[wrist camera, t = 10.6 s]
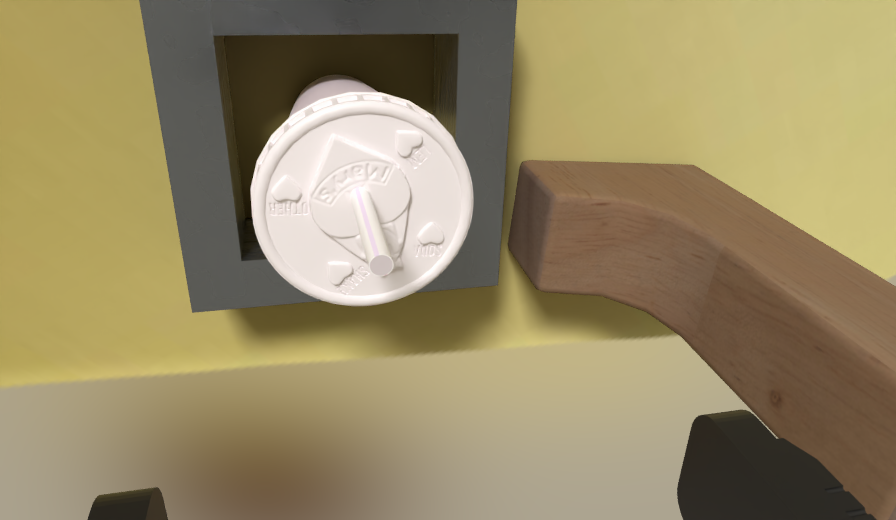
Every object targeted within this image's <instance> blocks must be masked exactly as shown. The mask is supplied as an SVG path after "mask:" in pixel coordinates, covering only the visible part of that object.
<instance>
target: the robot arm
mask: <svg viewBox="0 0 896 520" xmlns="http://www.w3.org/2000/svg"><path fill="white" fill-rule="evenodd" d="M677 496H678V504H679V508H680V511H681V515H682V517H683V520H877V519H876V518H875V517H874V516H873V515H872V514H867V513H866V511H865V507H864V506H863V505H862V504H861V503H860V502H859V501H858V500H857V499H856V498H855V497H854V496H853V495H852V494H851V493H850V492H849V491H847V492H845V490H844V488H843V485H842V484H841V483H840V482H839V481H838V480H837V479H836V478H835V477H834V476H833V475H832V474H831V473H830V472H829V471H828V470H827V469H826V468H825V466H824V465H823V464H822V463H821V462H820V461H819V460H818V459H816V458H815V457H813V456H811V455H810V454H808V453H807V452H805V451H803V450H802V449H800V448H799V447H797V446H795V445H794V444H792V443H791V442H789V441H787V440H786V439H784V438H780V439H776V438H775V437H774V436H773V435H772V433H771V432H770V431H769V430H768V429H767V428H766V427H765V426H764V425H763V424H762V423H761V422H760V421H759V419H757V417H756V416H754V415H753V414H752V413H751V412H749V411H746V410H736V411H729V412H721V413H715V414H707V415H700V416H698V417H696V419H695V420H694V422H693V424H692V427H691V431H690V436H689V440H688V444H687V448H686V453H685V457H684V461H683V466H682V469H681V474H680V478H679V482H678V488H677ZM88 520H168V518H167V513H166V509H165V505H164V500H163V497H162V493H161V491H160V489H159V488H157V487H156V488H149V489H141V490H134V491H127V492H119V493H112V494H104V495H99V496H97V498H96V499H95V501H94V502H93V505H92V508H91V511H90V514H89V517H88Z"/></svg>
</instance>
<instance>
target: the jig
mask: <svg viewBox="0 0 896 520" xmlns="http://www.w3.org/2000/svg"><path fill="white" fill-rule="evenodd" d="M139 1H140V7H141V13H142V19H143V25H144V30H145V36H146V42H147V48H148V54H149V60H150V66H151V72H152V78H153V84H154V90H155V95H156V101H157V107H158V113H159V119H160V125H161V131H162V137H163V143H164V149H165V154H166V160H167V166H168V172H169V178H170V184H171V190H172V196H173V202H174V208H175V213H176V219H177V225H178V231H179V237H180V243H181V249H182V255H183V261H184V267H185V273H186V278H187V284H188V290H189V296H190V302H191V308H192V313H193V312H204V311H215V310H226V309H238V308H249V307H260V306H271V305H282V304H293V303H305V302H316V301H322V300H320V299H317V298H314V297H312V296H310V295H308V294H306V293H304V292H302V291H300V290H299V289H297V288H296V287H294V286H293V285H291V284H290V283H289V282H288V281H286V280H285V279H284V278H283V277H282V276H281V275H280V274H279V273H278V272H277V271H276V270H275V269H274V267H273V266H272V265H271V263H270V262H269V261H268V259H267V258H266V256H265V254H264V253H263V251H262V249H261V246H260V244H259V242H258V239H257V236H256V233H255V229H254V225H253V218H247V219H246V218H245V210H244V202H243V193H242V185H241V176H240V168H239V160H238V151H237V143H236V134H235V126H234V118H233V109H232V101H231V92H230V84H229V76H228V67H227V59H226V51H225V42H224V35H347V34H435V36H434V98H433V116H434V117H435V118H436V119H437V120H438V121H439V122H440V123H441V124H442V126H443V127H444V128H445V129H446V130H447V131H448V132H449V133H450V134H451V135H452V137H453V139H454V141H455V143H456V145H457V147H458V149H459V150H460V152H461V154H462V156H463V158H464V159H465V162H466V164H467V167H468V169H469V173H470V177H471V181H472V187H473V212H472V219H471V223H470V227H469V230H468V233H467V235H466V238H465V240H464V242H463V244H462V246H461V248H460V250H459V251H458V253H457V255H456V256H455V258H454V259H453V260H452V262H451V263H450V264H449V265H448V266H447V268H446V269H445V270H444V271H443V272H442V273H441V274H440V275H439V276H438V277H436V278H435V279H434V280H433V281H431V282H430V283H429V284H427V285H426V286H424V287H423V288H421V289H420V290H418V291H416V292H428V291H439V290H450V289H461V288H472V287H483V286H495V285H498V275H499V260H500V245H501V231H502V216H503V201H504V186H505V172H506V157H507V142H508V127H509V113H510V98H511V83H512V68H513V54H514V39H515V24H516V9H517V0H139ZM416 292H414V293H416Z"/></svg>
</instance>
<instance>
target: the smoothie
mask: <svg viewBox="0 0 896 520" xmlns="http://www.w3.org/2000/svg"><path fill="white" fill-rule="evenodd" d="M250 190H251V206H252V217H253V225H254V229H255V233H256V236H257V239H258V242H259V244H260V246H261V249H262V251H263V253H264V254H265V256H266V258H267V259H268V261H269V262H270V263H271V265H272V266H273V267H274V269H275V270H276V271H277V272H278V273H279V274H280V275H281V276H282V277H283V278H284V279H285V280H286V281H288V282H289V283H290V284H291V285H293V286H294V287H296V288H297V289H299V290H300V291H302V292H304V293H306V294H308V295H310V296H312V297H314V298H317V299H320V300H322V301H326V302H329V303H333V304H339V305H345V306H371V305H378V304H384V303H388V302H392V301H395V300H398V299H401V298H404V297H406V296H408V295H410V294H412V293H414V292H416V291H418V290H420V289H421V288H423V287H424V286H426V285H427V284H429V283H430V282H431V281H433V280H434V279H435V278H436V277H438V276H439V275H440V274H441V273H442V272H443V271H444V270H445V269H446V268H447V266H448V265H449V264H450V263H451V262H452V260H453V259H454V258H455V256H456V255H457V253H458V251H459V250H460V248H461V246H462V244H463V242H464V240H465V238H466V235H467V233H468V230H469V227H470V223H471V219H472V212H473V187H472V181H471V177H470V173H469V169H468V167H467V164H466V162H465V159H464V158H463V156H462V154H461V152H460V150H459V149H458V147H457V145H456V143H455V141H454V139H453V137H452V135H451V134H450V133H449V132H448V131H447V130H446V129H445V128H444V127H443V126H442V124H441V123H440V122H439V121H438V120H437V119H436V118H435V117H434V116H433V115H432V114H430V113H428V112H427V111H425V110H423V109H422V108H420V107H419V106H417V105H415V104H414V103H412V102H411V101H409V100H405V99H402V98H399V97H395V96H392V95H388V94H385V93H381V92H377V91H376V90H374V89H373V88H371V87H369V86H368V85H366V84H365V83H363V82H362V81H360V80H358V79H356V78H353V77H350V76H346V75H328V76H324V77H321V78H319V79H317V80H315V81H313V82H311V83H310V84H309V85H308V86H306V87H305V88H304V89H303V91H302V92H301V93H300V94H299V96H298V98H297V100H296V102H295V104H294V106H293V109H292V111H291V113H290V115H289V118H288V119H287V120H286V121H285V122H284V123H283V124H282V125H281V126H280V127H279V128H278V129H277V130H276V131H275V132H274V133H273V134H272V135H271V137H270V138H269V140H268V142H267V144H266V146H265V147H264V149H263V151H262V153H261V154H260V156H259V158H258V160H257V162H256V167H255V171H254V175H253V179H252V184H251V188H250Z"/></svg>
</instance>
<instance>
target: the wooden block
mask: <svg viewBox="0 0 896 520" xmlns="http://www.w3.org/2000/svg"><path fill="white" fill-rule="evenodd" d="M508 247H509V250H510V252H511V253H512V255H513V256H514V257H515V259H516V260H517V262H518V263H519V265H520V266H521V268H522V269H523V270H524V272H525V273H526V275H527V276H528V278H529V279H530V281H531V282H532V283H533V285H534V286H535V288H536V289H538V290H540V291H543V292H551V293H566V294H581V295H596V296H603V297H606V298H609V299H611V300H614V301H617V302H620V303H623V304H626V305H629V306H631V307H634V308H637V309H640V310H643V311H646V312H647V313H649V314H650V315H651V316H653V317H654V318H656V319H657V320H659V321H660V322H661V323H663V324H664V325H666V326H667V327H668V328H670V329H671V330H673V331H674V332H676V333H677V334H678V335H680V336H681V337H682V338H683V339H684V340H685V341H686V342H687V343H688V344H689V345H690V346H691V348H692V349H693V350H694V351H695V352H696V353H697V354H698V355H699V356H700V357H701V358H702V359H703V360H704V361H705V362H706V363H707V364H708V365H709V366H710V367H711V368H712V369H713V370H714V371H715V373H716V374H717V375H718V376H719V377H720V378H721V379H722V380H723V381H724V382H725V383H726V384H727V385H728V386H729V387H730V388H731V389H732V390H733V391H734V392H735V393H736V394H737V395H738V396H739V397H740V399H741V400H742V401H743V402H744V403H745V404H746V405H747V406H748V407H749V408H750V409H751V410H752V411H753V412H754V413H755V414H756V415H757V416H758V417H759V418H760V419H761V420H762V422H764V424H765V425H766V426H767V427H768V428H769V429H770V430H771V431H772V432H773V433H774V434H775V435H776V436H777V437H778V438H779V439H780V438H784V439H786V440H787V441H789V442H791V443H792V444H794V445H795V446H797V447H799V448H800V449H802V450H803V451H805V452H807V453H808V454H810V455H811V456H813V457H815V458H816V459H818V460H819V461H820V462H821V463H822V464H823V465H824V466H825V468H826V469H827V470H828V471H829V472H830V473H831V474H832V475H833V476H834V477H835V478H836V479H837V480H838V481H839V482H840V483H841V484H842V485H843V488H844V490H845V492H847V491H849V492H850V493H851V494H852V495H853V496H854V497H855V498H856V499H857V500H858V501H859V502H860V503H861V504H862V505H863V506H864V507H865V511H866V513H867V514H872V515H873V516H874V517H875V518H876V519H877V520H896V286H894V285H892V284H891V283H889V282H887V281H886V280H884V279H882V278H881V277H879V276H878V275H876V274H874V273H873V272H871V271H869V270H868V269H866V268H864V267H863V266H861V265H859V264H858V263H856V262H854V261H853V260H851V259H849V258H848V257H846V256H844V255H843V254H841V253H839V252H838V251H836V250H834V249H833V248H831V247H829V246H828V245H826V244H824V243H823V242H821V241H819V240H818V239H816V238H814V237H813V236H811V235H809V234H808V233H806V232H804V231H803V230H801V229H799V228H798V227H796V226H794V225H793V224H791V223H789V222H788V221H786V220H784V219H783V218H781V217H780V216H778V215H776V214H775V213H773V212H771V211H770V210H768V209H767V208H765V207H763V206H762V205H760V204H758V203H757V202H755V201H753V200H752V199H750V198H748V197H747V196H745V195H743V194H742V193H740V192H738V191H737V190H735V189H733V188H732V187H730V186H728V185H727V184H725V183H723V182H722V181H720V180H718V179H717V178H715V177H713V176H712V175H710V174H708V173H706V172H705V171H703V170H701V169H700V168H698V167H696V166H694V165H677V164H643V163H609V162H573V161H537V160H529V161H525V162H522V164H521V166H520V169H519V176H518V182H517V189H516V195H515V201H514V208H513V214H512V221H511V227H510V234H509V240H508Z"/></svg>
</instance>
